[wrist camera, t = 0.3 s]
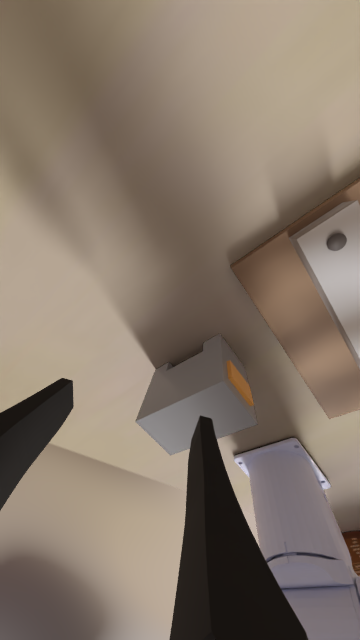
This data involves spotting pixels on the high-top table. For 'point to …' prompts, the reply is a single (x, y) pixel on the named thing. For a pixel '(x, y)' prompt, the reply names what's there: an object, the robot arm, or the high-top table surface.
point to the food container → (353, 548)
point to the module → (198, 397)
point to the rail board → (314, 297)
